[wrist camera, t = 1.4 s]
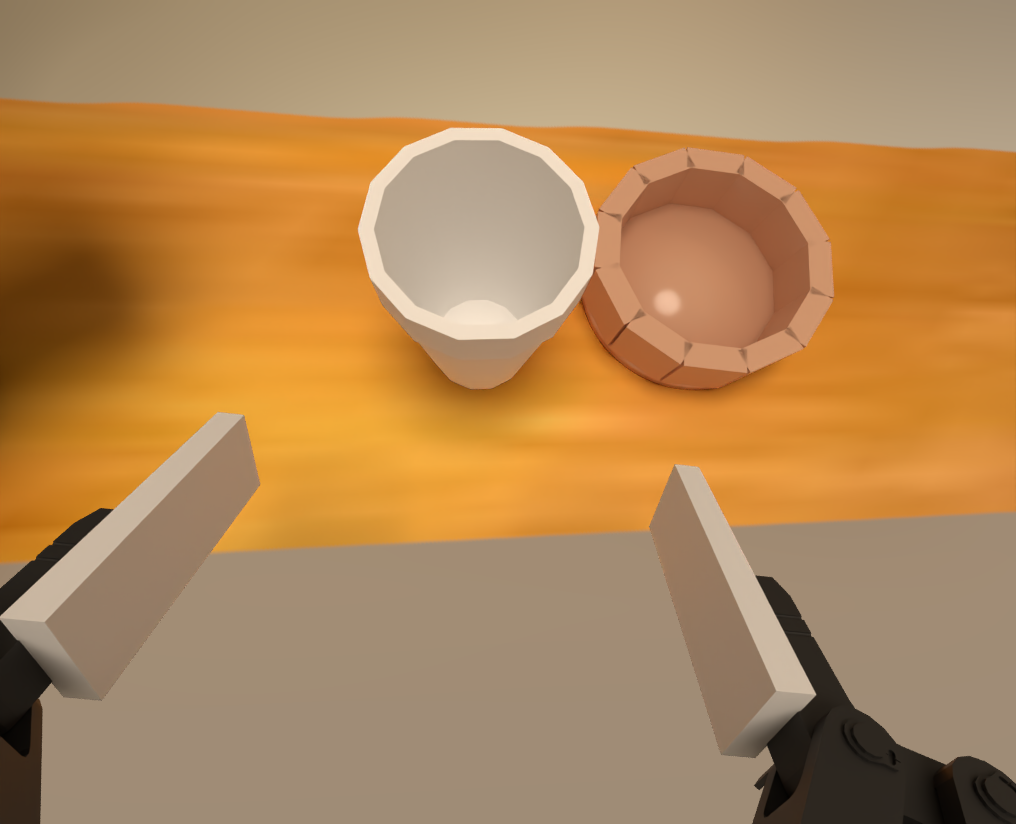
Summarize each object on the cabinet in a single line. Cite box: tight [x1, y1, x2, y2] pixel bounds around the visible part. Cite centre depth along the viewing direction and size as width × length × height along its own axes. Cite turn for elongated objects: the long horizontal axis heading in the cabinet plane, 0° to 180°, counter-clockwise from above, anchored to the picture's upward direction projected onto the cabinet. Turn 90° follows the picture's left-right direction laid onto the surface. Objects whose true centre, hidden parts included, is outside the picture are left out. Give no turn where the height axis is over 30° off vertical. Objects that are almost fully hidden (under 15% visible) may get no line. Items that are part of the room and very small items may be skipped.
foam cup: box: [358, 128, 599, 389], centre depth 24 cm, size 10×9×13 cm
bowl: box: [582, 147, 834, 390], centre depth 30 cm, size 15×15×4 cm
